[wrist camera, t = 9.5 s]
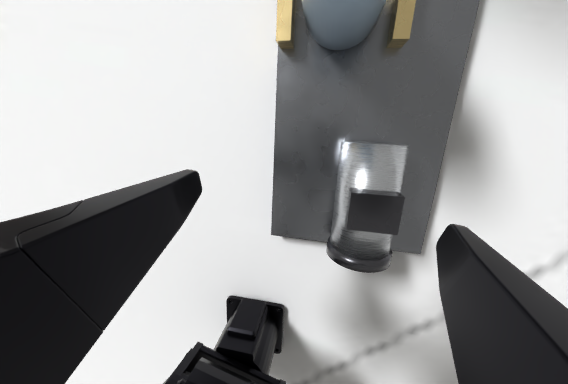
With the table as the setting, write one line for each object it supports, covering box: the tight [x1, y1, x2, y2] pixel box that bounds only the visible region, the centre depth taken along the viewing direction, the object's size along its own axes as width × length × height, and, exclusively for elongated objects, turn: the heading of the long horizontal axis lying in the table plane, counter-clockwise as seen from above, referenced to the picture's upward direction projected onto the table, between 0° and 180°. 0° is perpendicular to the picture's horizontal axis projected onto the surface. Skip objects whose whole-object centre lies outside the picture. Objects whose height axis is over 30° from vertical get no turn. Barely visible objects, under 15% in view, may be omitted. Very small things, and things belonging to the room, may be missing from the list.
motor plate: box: [271, 0, 479, 273], centre depth 16 cm, size 20×13×7 cm, turn 177°
